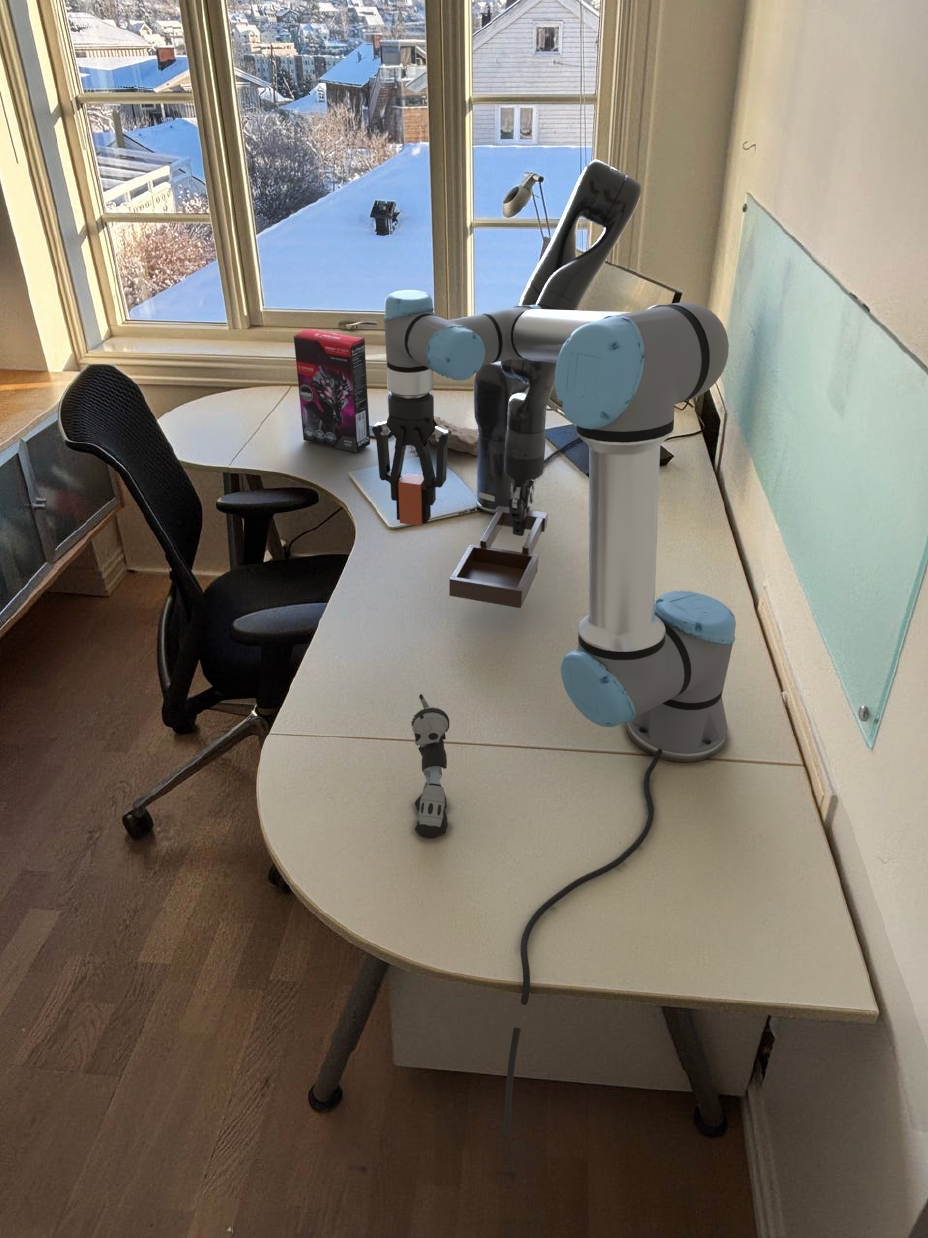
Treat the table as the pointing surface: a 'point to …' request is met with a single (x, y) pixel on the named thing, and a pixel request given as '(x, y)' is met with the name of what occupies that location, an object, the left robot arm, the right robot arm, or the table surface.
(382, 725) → the table surface
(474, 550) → the walnut tray
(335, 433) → the graphics card box
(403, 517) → the terracotta block
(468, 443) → the stone
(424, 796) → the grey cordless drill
